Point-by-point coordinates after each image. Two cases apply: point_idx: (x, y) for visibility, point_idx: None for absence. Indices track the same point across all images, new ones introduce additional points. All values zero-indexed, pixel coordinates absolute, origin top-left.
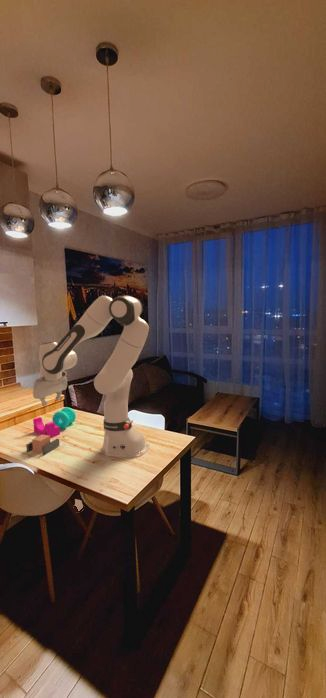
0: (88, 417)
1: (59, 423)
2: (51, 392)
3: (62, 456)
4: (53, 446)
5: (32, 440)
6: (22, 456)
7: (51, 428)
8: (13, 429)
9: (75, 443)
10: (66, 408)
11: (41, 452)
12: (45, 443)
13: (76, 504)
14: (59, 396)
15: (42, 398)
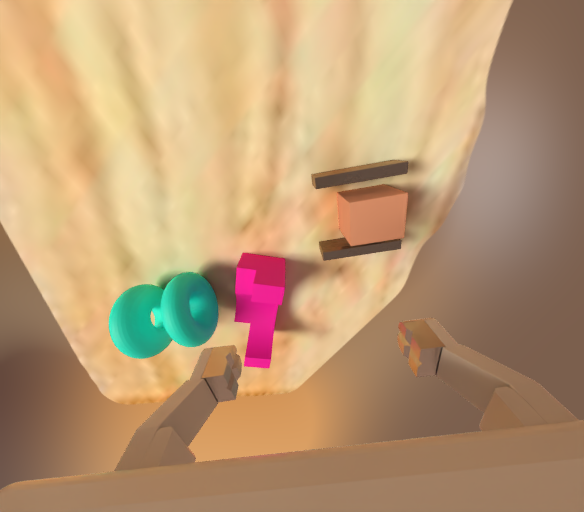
0: (70, 283)
1: (203, 301)
2: (426, 500)
3: (385, 70)
4: (347, 169)
5: (402, 234)
6: (419, 222)
7: (270, 274)
8: (288, 376)
9: (264, 125)
10: (131, 345)
11: (384, 185)
12: (371, 193)
13: None
14: (201, 381)
15: (553, 410)
